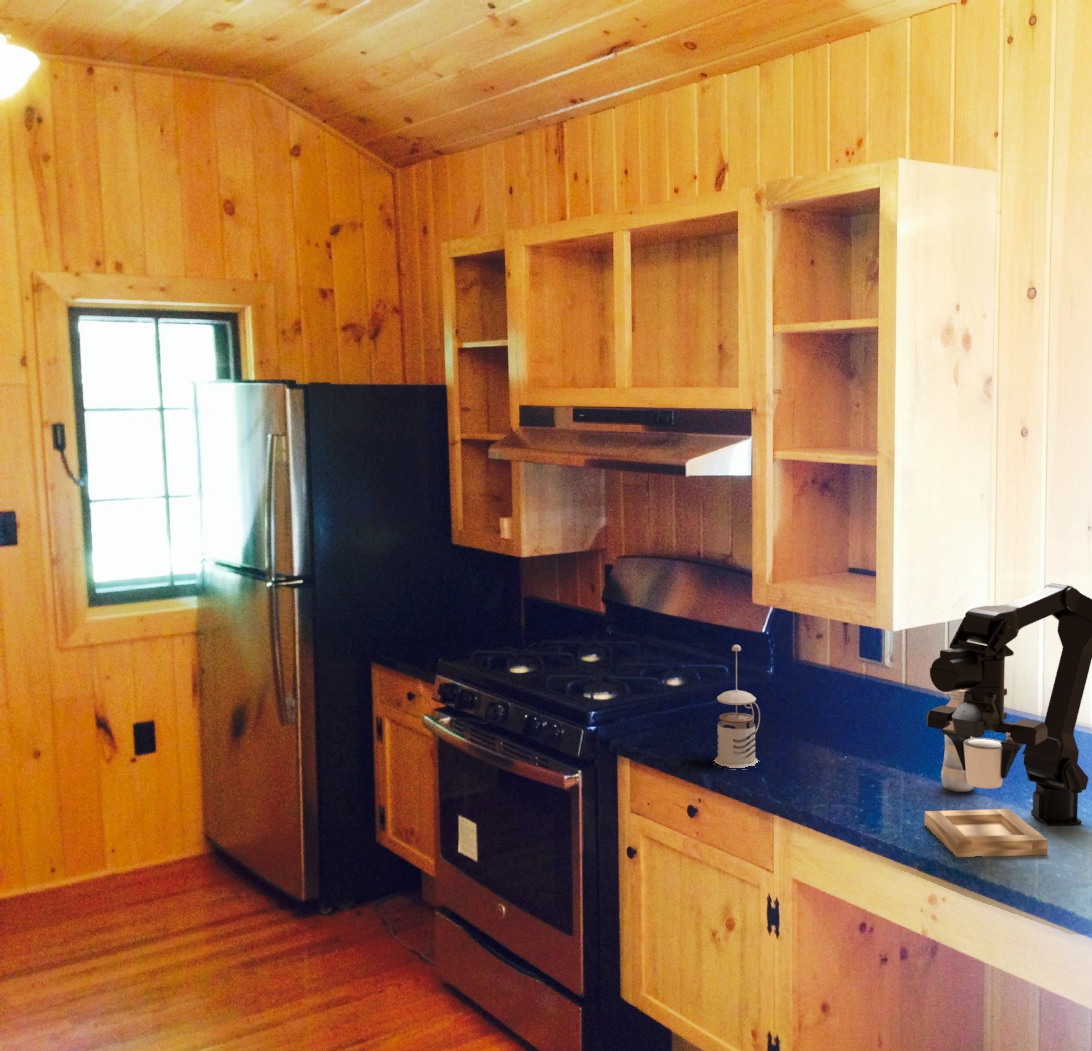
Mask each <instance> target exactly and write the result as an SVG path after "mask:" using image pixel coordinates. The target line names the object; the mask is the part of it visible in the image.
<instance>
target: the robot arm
mask: <svg viewBox="0 0 1092 1051" xmlns="http://www.w3.org/2000/svg"><path fill="white" fill-rule="evenodd" d="M1051 616H1052V617H1054V619H1056V620H1057V621H1058V623H1057V634H1058V637H1059V640H1060V643H1061V645H1062V649H1061V653H1060V657H1059V660H1058V661H1059V662H1058V665H1057V669H1056V672H1055V673H1056V674H1055V679H1054V682H1053V685H1052V690H1051V694H1050V698H1049V701H1048V702H1049V703H1048V706H1047V710H1046V714H1045V719H1044V721H1039V720H1033V719H1027V718H1022V719H1020V720H1017V721H1016V722H1008V721H1004V720H1006V719H1007V717H1008V716H1007V714H1008V713H1007V712H1005V697H1006V696H1007V695H1008V689H1007V688H1005V665H1006V664H1005V658H1006V657H1012V656H1014V651H1013V650H1012V649H1011V648H1010V647H1009V646H1008V645H1007V644H1009V643H1010V642H1012V641H1013V640H1014V639H1016V638H1017V636H1018V634H1019V631H1020V630H1021V629H1023V628H1025V627H1027V626H1029V625H1033V623H1037V622H1038V621H1041V620H1043V619H1045V618H1047V617H1051ZM948 648H949V649H940V651H939V657H938V658H936V659H934V661H933V662H932V663H931V667H930V668H929V677H930V681H931V682H932V684H933V686H934V687H935V689H937V690H938V691H940V692H942V693H950V691H956V690H961V689H966V688H968V690H966V691H965V694H964V700H963V703H962V704H961V705H960V706H959V707H958V708H955V707H949V706H946V705H940V706H937V707H935V708H933V709H930V710H929V711H928V712H927V714H926V716H925V717H926V718H925V719H926V720H925V721H926V722H925V723H926V724H925V726H926V727H928V728H932V729H937V730H940V732H941V734H942V735H944V736H945V735H947V736H948V737H949V738H950V739H951V740H952V742H953V744H954V746H955V748H956V751H957V753H958V756H959V759H960V762H961V764H962V767H963V770H964V771H966V767H965V755H964V743H963V742H964V741H965V740H967V739H971V736H972V737H974V738H983V736H984V735H985V732H995V733H999V734H1000V733H1001V734H1004V735H1005V736H1006V738H1005V739H1003V740H1001V741H1002V742H1000V743H1001V746H1002V749H1003V752H1002V763H1001V778H1002V779H1003V780H1005V779H1006V778H1007V776H1008V774H1009V772H1010V770H1011V767H1012V766H1013V763H1014V761H1015V759H1016V756H1017V755H1018V753H1019V751H1020V750H1021V748H1022V747H1023V746H1024V745H1025V748H1024V750H1023V751H1022V755H1023V760H1022V761H1023V765H1024V768H1025V771H1026V772H1025V773H1026V776H1027V779H1028V782H1033V783H1035V791H1033V792H1032V810H1030V814H1031V815H1032V816H1034V817H1035V818H1037V820H1039V821H1040V822H1041V823H1042V824H1044V825H1047V826H1056V825H1058V826H1059V825H1060V826H1061V825H1064V826H1065V825H1082V824H1083V821H1082V820H1081V819H1080V818H1079V817H1078V808H1079V807H1078V805H1079V794H1080V793H1081V794H1082V793H1083V791H1085V790H1087V786H1088V782H1089V777H1088V775H1087V774H1086V773H1085V772H1084V770H1083V769H1082V768H1081V767H1080V765H1079V764H1078V761H1079V753H1080V750H1079V748H1078V745H1077V742H1076V738H1075V736H1074V734H1075V733H1074V732H1075V729H1076V724H1077V720H1078V716H1079V713H1080V707H1081V703H1082V700H1083V696H1084V692H1085V688H1086V684H1087V679H1088V675H1089V673H1090V668H1091V663H1092V598H1090V597H1089V596H1087V595H1086V594H1082V593H1081V592H1080V591H1079V590H1078V589H1077V588H1075V587H1073V586H1071V585H1068V584H1060V583H1050V584H1046V585H1044V587H1043V588H1040V589H1038V590H1036V591H1035V590H1034V591H1033V592H1031V593H1029V594H1026V595H1024V596H1021V597H1019V598H1017V599H1015V600H1012V601H1010V602H1007V603H1005V604H1001V605H984V606H983V605H982V606H979V607H978V606H977V607H973V608H969V610H967V611H966V612H965V614H964V617H963V619H962V620H961V622H960V624H959V626H958V629H957V630H956V632H955V634H954V636H953V638H952V640H951V642H950V644H949V647H948ZM1081 823H1082V824H1081Z"/></svg>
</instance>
